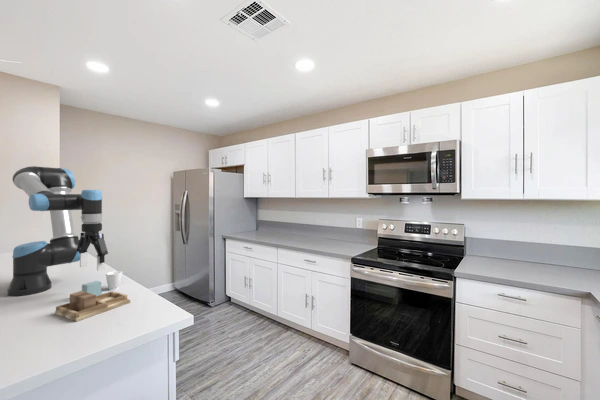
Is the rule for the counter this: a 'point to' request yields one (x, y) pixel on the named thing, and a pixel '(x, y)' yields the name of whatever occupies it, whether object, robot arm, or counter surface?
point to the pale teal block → (92, 287)
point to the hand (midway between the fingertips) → (92, 268)
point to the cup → (114, 279)
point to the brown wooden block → (82, 301)
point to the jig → (102, 305)
